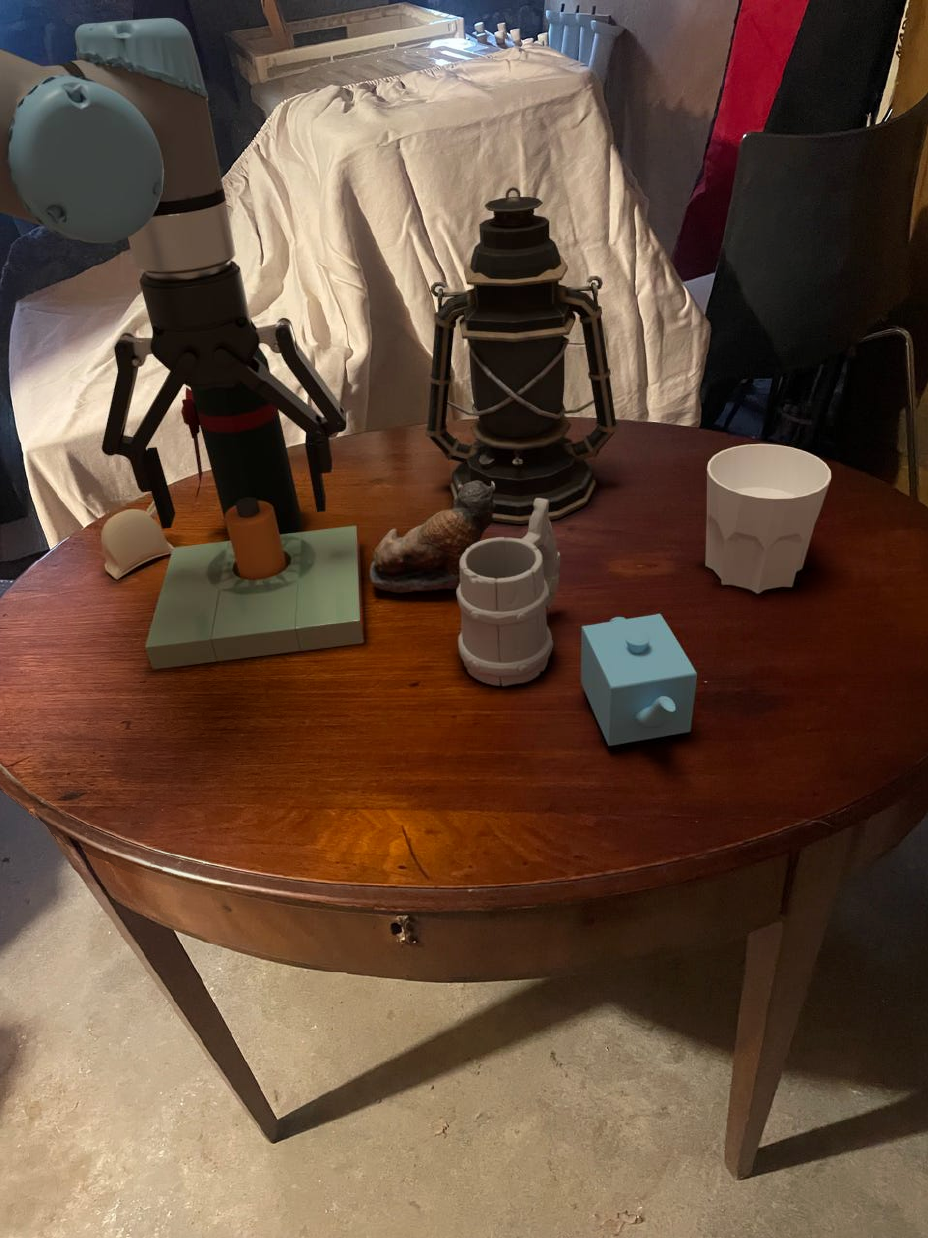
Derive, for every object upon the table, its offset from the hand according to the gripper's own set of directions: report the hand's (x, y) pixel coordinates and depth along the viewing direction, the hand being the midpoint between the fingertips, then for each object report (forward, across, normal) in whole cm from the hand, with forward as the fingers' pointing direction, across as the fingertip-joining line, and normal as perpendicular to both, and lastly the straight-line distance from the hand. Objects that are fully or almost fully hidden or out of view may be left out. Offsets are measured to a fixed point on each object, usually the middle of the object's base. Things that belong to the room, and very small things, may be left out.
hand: (245, 513), depth 79 cm
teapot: (+8, -29, +25) cm, 39 cm away
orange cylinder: (+8, 0, 0) cm, 8 cm away
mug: (+8, -22, +14) cm, 27 cm away
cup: (+8, -45, +7) cm, 47 cm away
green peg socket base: (+8, 0, +3) cm, 8 cm away
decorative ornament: (+8, +13, -8) cm, 17 cm away
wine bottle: (+8, +2, -11) cm, 14 cm away
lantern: (+8, -27, -13) cm, 31 cm away
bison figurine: (+8, -16, +3) cm, 18 cm away
